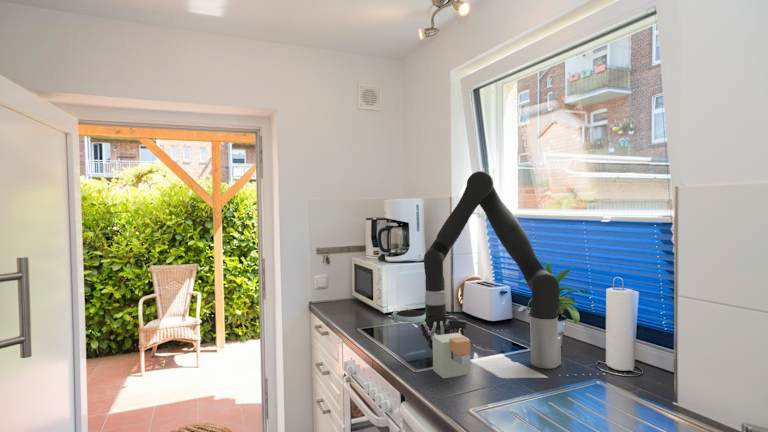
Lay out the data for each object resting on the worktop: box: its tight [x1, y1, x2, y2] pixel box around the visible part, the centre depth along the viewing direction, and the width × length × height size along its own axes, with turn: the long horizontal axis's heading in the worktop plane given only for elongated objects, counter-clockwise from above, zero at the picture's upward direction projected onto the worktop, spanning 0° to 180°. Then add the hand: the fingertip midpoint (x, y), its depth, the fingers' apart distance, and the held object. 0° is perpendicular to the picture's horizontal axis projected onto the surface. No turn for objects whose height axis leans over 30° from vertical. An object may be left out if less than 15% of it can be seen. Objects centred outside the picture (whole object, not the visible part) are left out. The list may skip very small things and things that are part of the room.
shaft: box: [423, 330, 471, 366], centre depth 152 cm, size 4×28×4 cm, turn 19°
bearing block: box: [432, 332, 471, 379], centre depth 148 cm, size 10×8×12 cm
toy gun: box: [443, 315, 467, 329], centre depth 203 cm, size 5×21×15 cm
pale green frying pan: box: [391, 309, 426, 324], centre depth 225 cm, size 18×4×25 cm
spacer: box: [449, 337, 471, 355], centre depth 142 cm, size 5×5×4 cm
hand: (436, 348), depth 159 cm, fingers closed on shaft, 3 cm apart
